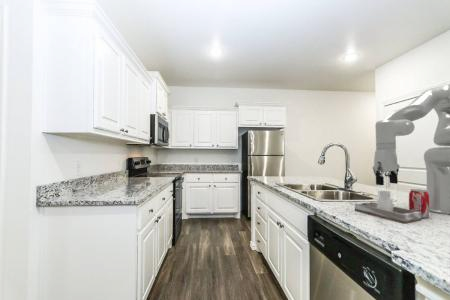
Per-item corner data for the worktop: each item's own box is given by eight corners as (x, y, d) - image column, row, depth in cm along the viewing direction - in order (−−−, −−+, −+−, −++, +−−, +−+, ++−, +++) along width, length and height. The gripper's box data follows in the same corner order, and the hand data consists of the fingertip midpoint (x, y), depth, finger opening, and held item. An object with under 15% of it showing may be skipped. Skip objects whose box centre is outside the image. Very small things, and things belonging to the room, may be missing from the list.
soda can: (433, 219, 99) (433, 191, 100) (414, 218, 101) (414, 191, 101) (422, 215, 106) (422, 189, 107) (405, 214, 108) (405, 188, 108)
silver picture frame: (371, 208, 118) (371, 201, 118) (421, 220, 98) (421, 212, 98) (354, 210, 113) (354, 203, 113) (404, 223, 93) (404, 214, 93)
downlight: (399, 214, 103) (398, 192, 103) (386, 215, 101) (385, 192, 102) (383, 211, 110) (382, 190, 111) (371, 211, 109) (370, 190, 110)
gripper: (389, 147, 113) (390, 181, 113) (365, 147, 106) (366, 184, 106) (406, 146, 106) (407, 183, 106) (381, 147, 99) (382, 186, 99)
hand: (386, 184), depth 106 cm, fingers open, 9 cm apart
